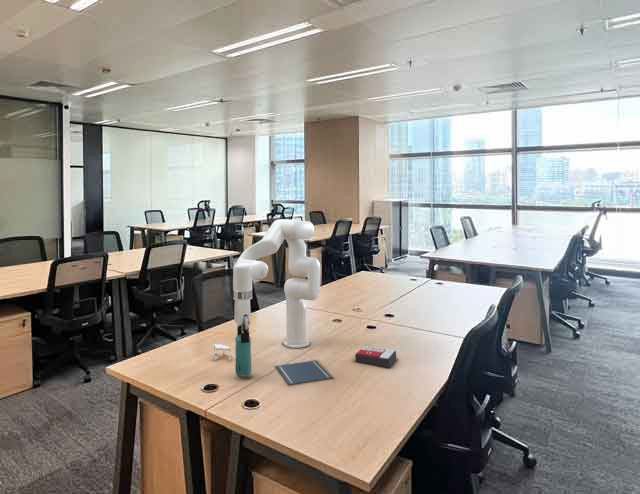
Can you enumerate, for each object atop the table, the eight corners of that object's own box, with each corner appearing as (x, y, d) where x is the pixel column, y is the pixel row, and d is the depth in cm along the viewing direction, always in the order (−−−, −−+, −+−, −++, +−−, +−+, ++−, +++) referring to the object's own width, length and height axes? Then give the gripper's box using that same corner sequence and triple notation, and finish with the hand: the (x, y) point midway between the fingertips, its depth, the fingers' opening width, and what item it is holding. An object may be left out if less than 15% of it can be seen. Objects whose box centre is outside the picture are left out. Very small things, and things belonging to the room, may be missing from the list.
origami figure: (205, 360, 188) (205, 348, 188) (215, 353, 195) (215, 342, 195) (229, 363, 183) (229, 352, 184) (238, 356, 191) (238, 345, 191)
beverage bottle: (254, 374, 172) (253, 325, 172) (247, 381, 166) (246, 330, 166) (239, 372, 174) (239, 323, 174) (232, 379, 168) (231, 328, 168)
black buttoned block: (363, 345, 194) (396, 349, 187) (364, 354, 194) (396, 358, 187) (354, 353, 185) (388, 357, 177) (355, 363, 184) (389, 368, 177)
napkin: (276, 366, 180) (276, 366, 180) (315, 361, 185) (315, 360, 185) (289, 385, 163) (289, 384, 163) (332, 378, 168) (332, 377, 168)
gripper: (229, 290, 177) (230, 333, 177) (237, 300, 161) (238, 348, 161) (247, 289, 180) (247, 331, 180) (257, 299, 163) (257, 345, 163)
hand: (243, 339), depth 170 cm, fingers closed on beverage bottle, 6 cm apart
